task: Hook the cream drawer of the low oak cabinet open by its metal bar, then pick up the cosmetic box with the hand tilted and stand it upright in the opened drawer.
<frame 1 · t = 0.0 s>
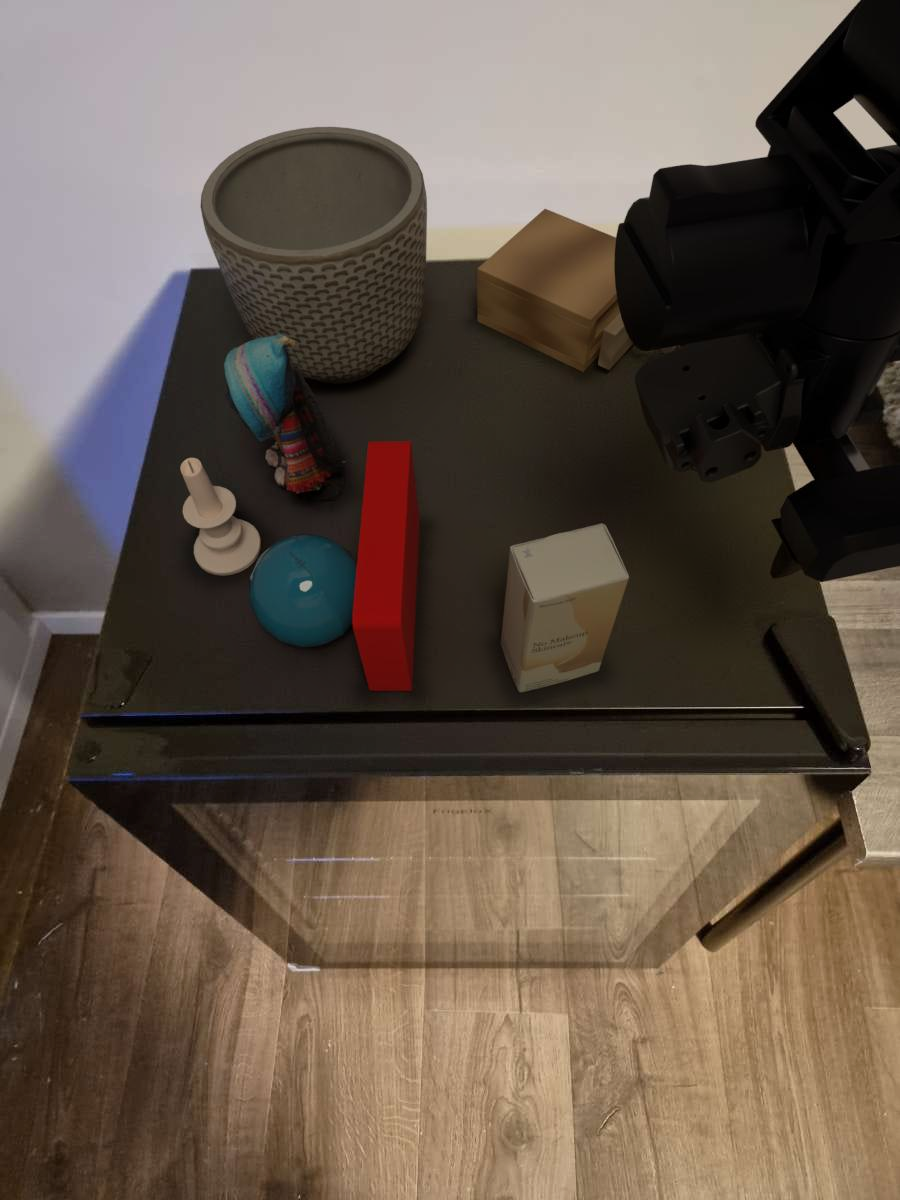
hand: (746, 513, 49), 12 cm above the table, tool pointing down, fingers open, 9 cm apart
cosmetic box: (550, 658, 58), on the table
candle: (229, 550, 63), on the table
drawer: (610, 309, 72), point 3 cm above the table, slide at 1.0 cm
cabinet: (560, 314, 76), on the table
tall red plank: (396, 604, 60), on the table
figurine: (302, 477, 67), on the table
ball: (317, 620, 60), on the table
planter: (342, 353, 75), on the table
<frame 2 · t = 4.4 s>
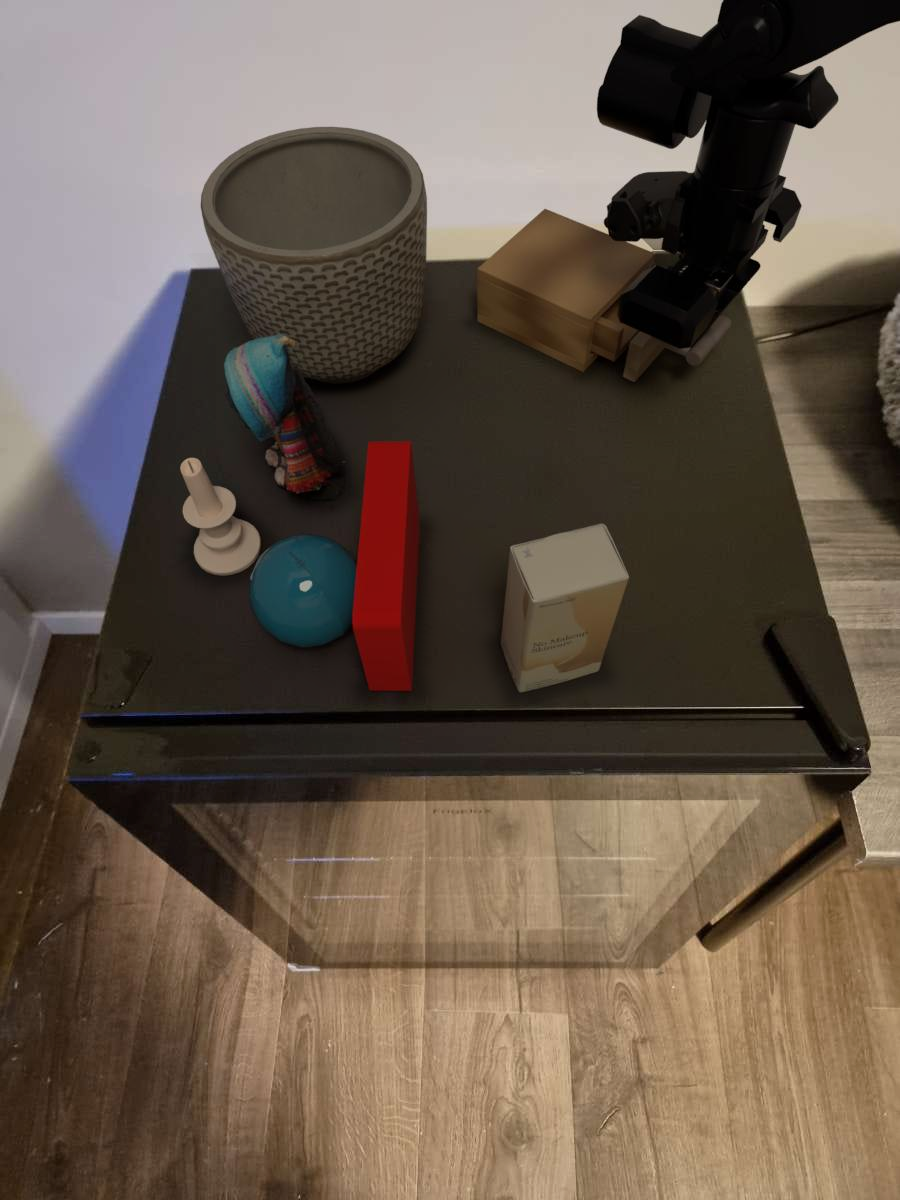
hand: (688, 343, 70), 3 cm above the table, tool pointing down, fingers closed, pressing on drawer
drawer: (635, 320, 71), point 3 cm above the table, slide at 3.6 cm, touching gripper
everything else where it was.
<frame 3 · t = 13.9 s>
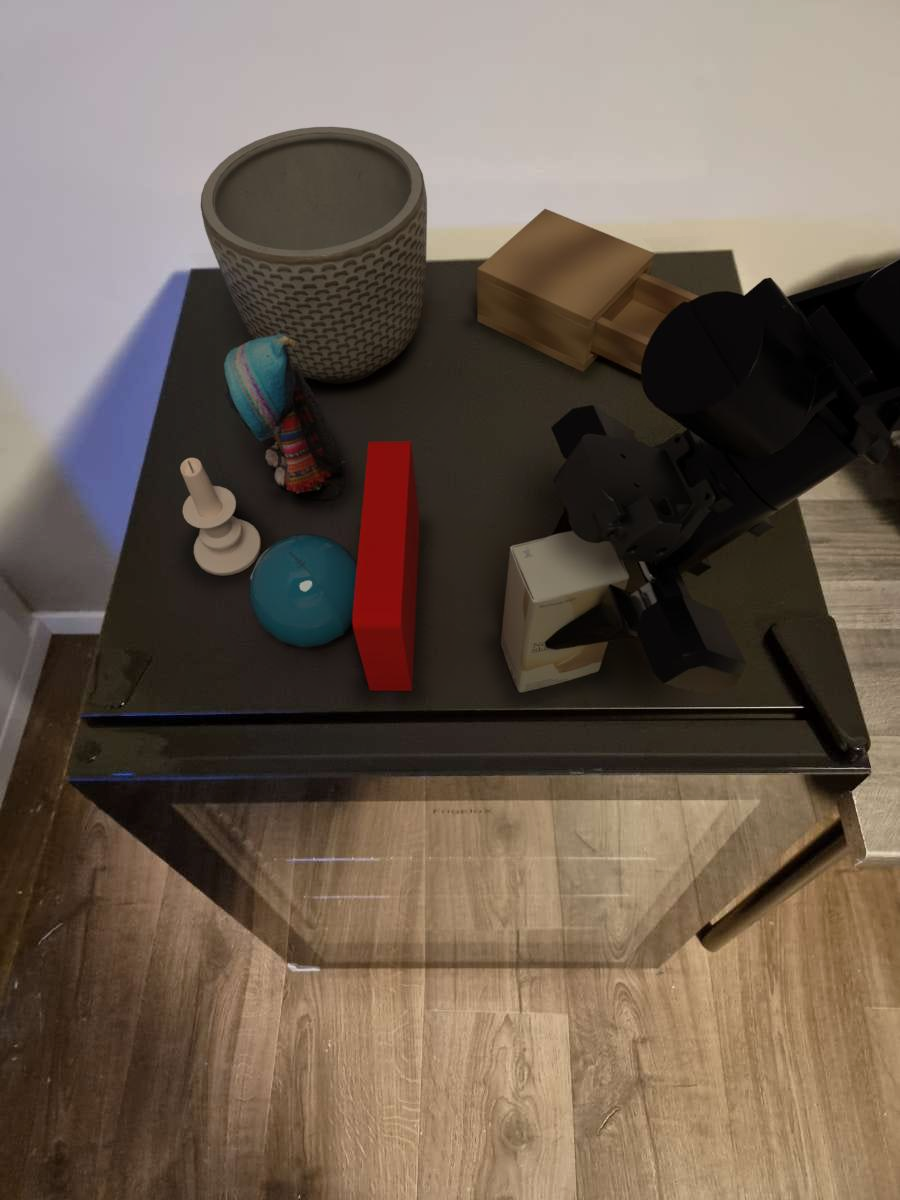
hand: (538, 615, 52), 7 cm above the table, tool tilted 45°, fingers closed on cosmetic box, 4 cm apart
cosmetic box: (550, 658, 58), on the table, touching gripper
drawer: (682, 341, 70), point 3 cm above the table, slide at 8.2 cm
everything else where it was.
when the fingers open (9 cm above the table, at t = 23.3 s): cosmetic box stays where it is, resting on drawer.
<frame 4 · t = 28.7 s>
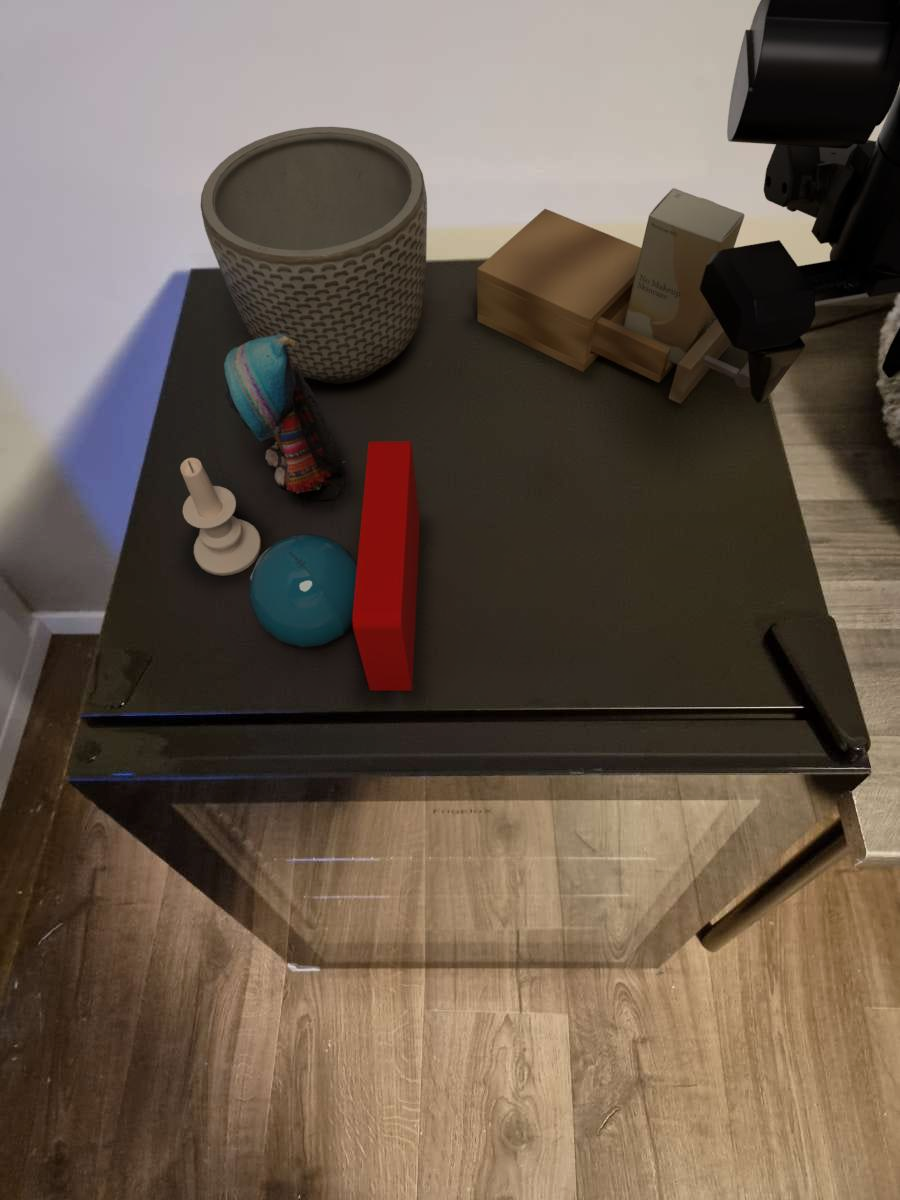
hand: (822, 385, 53), 13 cm above the table, tool pointing down, fingers open, 9 cm apart
cosmetic box: (662, 342, 71), point 2 cm above the table, touching drawer
drawer: (681, 340, 70), point 3 cm above the table, slide at 8.1 cm, touching cosmetic box
everything else where it was.
at the end: drawer slide at 8.1 cm; cosmetic box inside the target area in the drawer (0.3 cm from its centre), point 1.9 cm above the cabinet's base; cosmetic box tilted 0° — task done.
